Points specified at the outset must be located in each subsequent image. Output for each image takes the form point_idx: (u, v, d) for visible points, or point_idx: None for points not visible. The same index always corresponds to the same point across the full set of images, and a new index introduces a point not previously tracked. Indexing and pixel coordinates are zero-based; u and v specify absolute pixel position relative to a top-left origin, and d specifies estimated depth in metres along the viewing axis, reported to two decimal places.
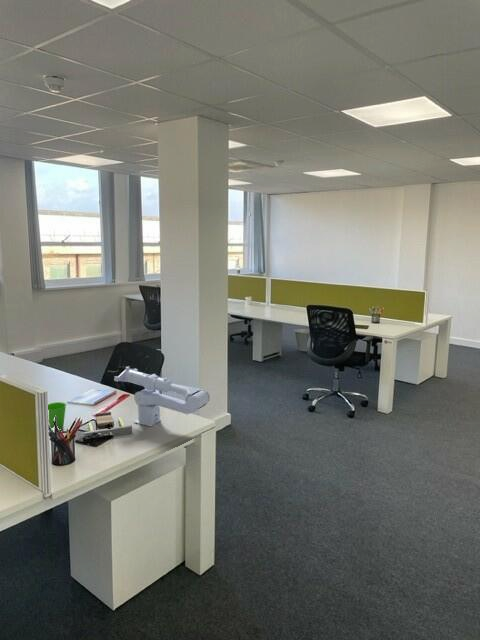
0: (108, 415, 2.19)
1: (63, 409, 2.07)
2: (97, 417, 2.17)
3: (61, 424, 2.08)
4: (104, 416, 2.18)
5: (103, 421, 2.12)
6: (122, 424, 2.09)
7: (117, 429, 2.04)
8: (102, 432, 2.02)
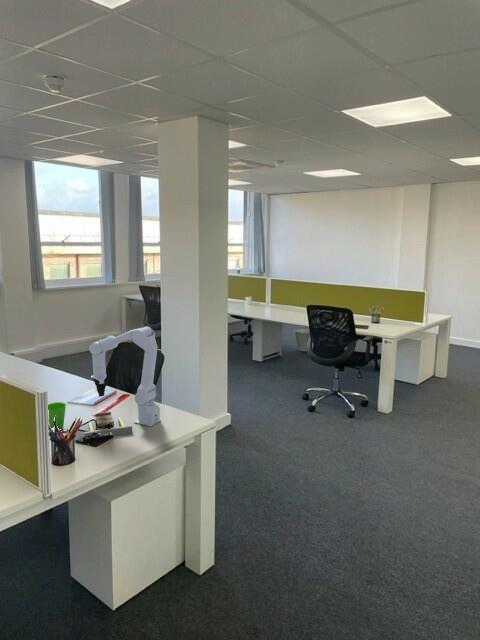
0: (108, 415, 2.19)
1: (63, 409, 2.07)
2: (97, 417, 2.17)
3: (61, 424, 2.08)
4: (104, 416, 2.18)
5: (103, 421, 2.12)
6: (122, 424, 2.09)
7: (117, 429, 2.04)
8: (102, 432, 2.02)
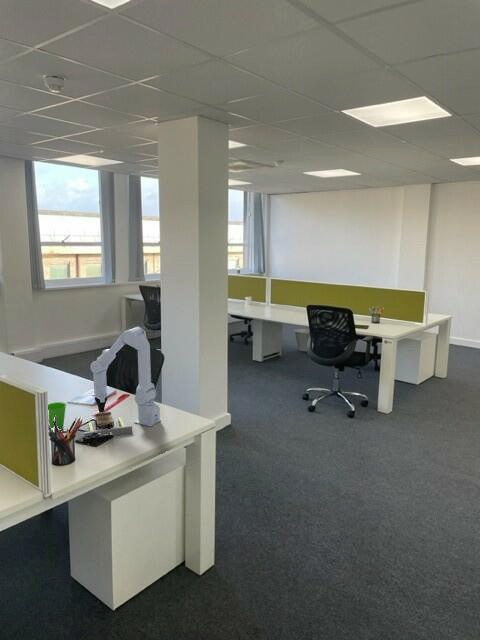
0: (108, 415, 2.19)
1: (63, 409, 2.07)
2: (97, 417, 2.17)
3: (61, 424, 2.08)
4: (104, 416, 2.18)
5: (103, 421, 2.12)
6: (122, 424, 2.09)
7: (117, 429, 2.04)
8: (102, 432, 2.02)
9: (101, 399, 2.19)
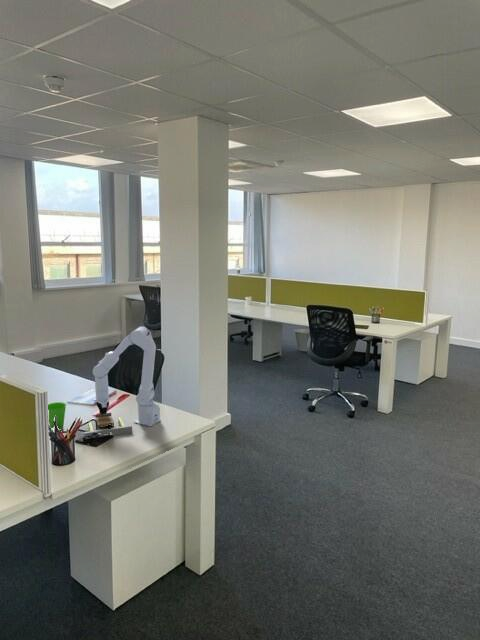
0: (108, 416, 2.18)
1: (63, 409, 2.07)
2: (97, 418, 2.16)
3: (61, 424, 2.08)
4: (104, 417, 2.17)
5: (103, 422, 2.11)
6: (122, 424, 2.09)
7: (117, 429, 2.04)
8: (102, 432, 2.02)
9: (103, 404, 2.12)
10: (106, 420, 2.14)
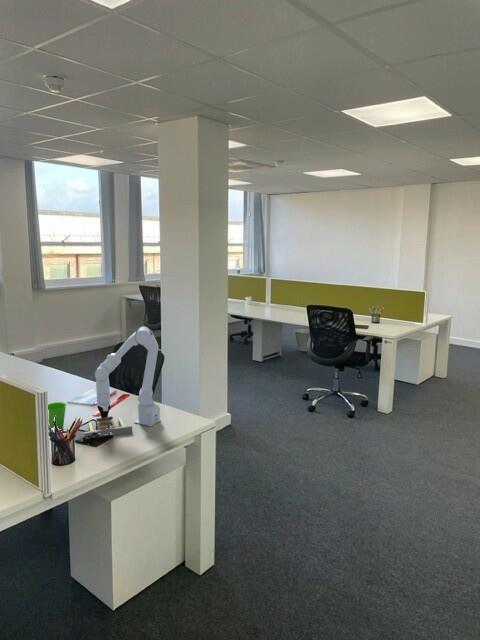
0: (110, 420, 2.14)
1: (63, 409, 2.07)
2: (98, 422, 2.12)
3: (61, 424, 2.08)
4: (105, 421, 2.13)
5: (104, 426, 2.07)
6: (122, 424, 2.09)
7: (117, 429, 2.04)
8: (102, 432, 2.02)
9: (104, 408, 2.08)
10: (107, 424, 2.09)
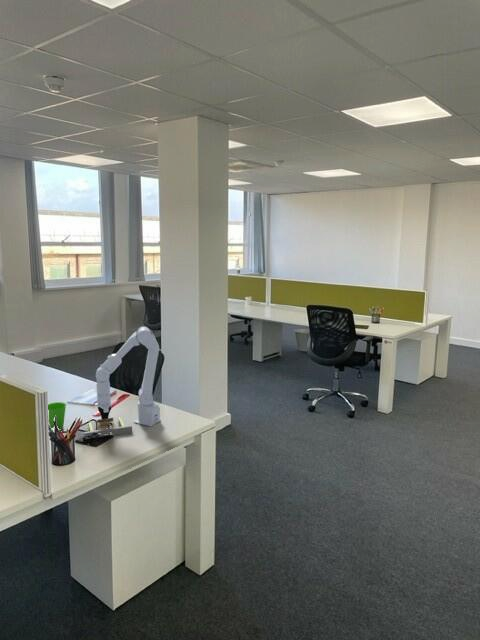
0: (110, 421, 2.12)
1: (63, 409, 2.07)
2: (99, 423, 2.10)
3: (61, 424, 2.08)
4: (106, 422, 2.11)
5: (105, 427, 2.05)
6: (122, 424, 2.09)
7: (117, 429, 2.04)
8: (102, 432, 2.02)
9: (105, 409, 2.06)
10: None
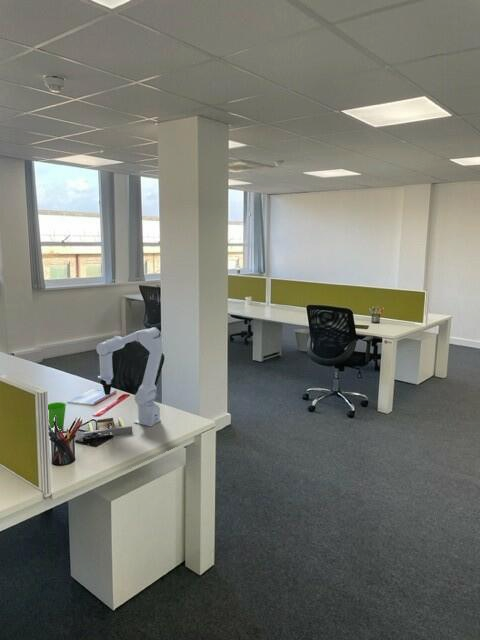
0: (110, 421, 2.12)
1: (63, 409, 2.07)
2: (99, 423, 2.10)
3: (61, 424, 2.08)
4: (106, 422, 2.11)
5: (105, 427, 2.05)
6: (122, 424, 2.09)
7: (117, 429, 2.04)
8: (102, 432, 2.02)
9: (107, 381, 2.16)
10: None
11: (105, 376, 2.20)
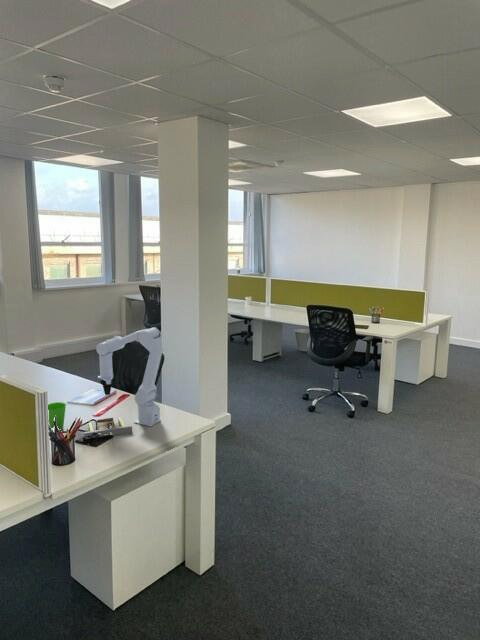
0: (110, 421, 2.12)
1: (63, 409, 2.07)
2: (99, 423, 2.10)
3: (61, 424, 2.08)
4: (106, 422, 2.11)
5: (105, 427, 2.05)
6: (122, 424, 2.09)
7: (117, 429, 2.04)
8: (102, 432, 2.02)
9: (107, 381, 2.16)
10: None
11: (105, 376, 2.20)
